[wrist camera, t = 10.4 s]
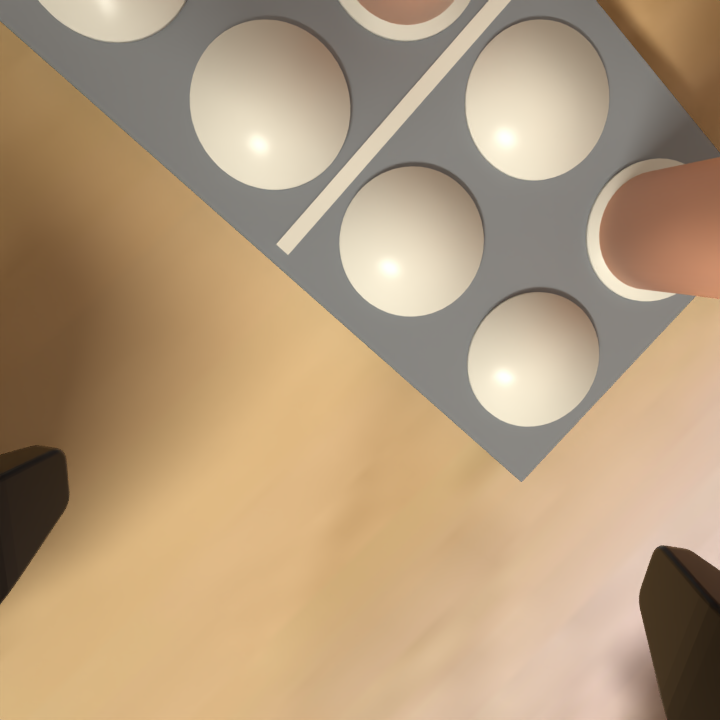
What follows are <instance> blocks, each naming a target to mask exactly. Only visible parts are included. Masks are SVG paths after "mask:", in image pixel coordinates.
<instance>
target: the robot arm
mask: <svg viewBox="0 0 720 720" xmlns="http://www.w3.org/2000/svg"><path fill="white" fill-rule="evenodd" d="M68 501H69V484H68V473H67V462H66V456H65V454H64V452H63V451H62V450H60V449H58V448H52V447H46V446H40V445H35V446H31V447H27V448H23V449H20V450H16V451H12V452H9V453H5V454H1V455H0V604H1V603H2V601H3V600H4V599H5V598H6V596H7V595H8V594H9V592H10V591H11V589H12V588H13V587H14V585H15V584H16V582H17V581H18V580H19V578H20V577H21V575H22V574H23V572H24V571H25V569H26V568H27V566H28V565H29V563H30V562H31V560H32V559H33V557H34V556H35V554H36V553H37V551H38V550H39V548H40V547H41V545H42V544H43V542H44V541H45V539H46V538H47V536H48V535H49V533H50V532H51V530H52V529H53V527H54V526H55V524H56V523H57V521H58V520H59V518H60V517H61V515H62V514H63V512H64V511H65V509H66V506H67V504H68ZM639 605H640V611H641V615H642V619H643V623H644V628H645V632H646V636H647V640H648V645H649V649H650V653H651V657H652V662H653V666H654V670H655V674H656V679H657V683H658V687H659V691H660V696H661V699H662V703H663V707H664V711H665V714H666V717H667V720H720V570H718V569H717V568H715V567H714V566H713V565H711V564H710V563H708V562H707V561H705V560H704V559H702V558H701V557H700V556H698V555H697V554H695V553H694V552H692V551H690V550H688V549H684V548H677V547H671V546H664V545H661V546H659V547H657V548H656V549H655V550H654V552H653V554H652V557H651V560H650V563H649V566H648V569H647V571H646V574H645V577H644V580H643V583H642V586H641V589H640V595H639Z"/></svg>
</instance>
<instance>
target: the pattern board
mask: <svg viewBox="0 0 720 720" xmlns="http://www.w3.org/2000/svg"><path fill="white" fill-rule="evenodd" d="M0 21H1V22H2V23H3V24H4V25H5V26H6V27H7V28H9V29H10V30H11V31H12V32H13V33H14V34H15V35H16V36H18V37H19V38H20V39H21V40H22V41H23V42H24V43H25V44H27V45H28V46H29V47H30V48H31V49H32V50H33V51H35V52H36V53H37V54H38V55H39V56H40V57H41V58H42V59H44V60H45V61H46V62H47V63H48V64H49V65H50V66H51V67H53V68H54V69H55V70H56V71H57V72H58V73H59V74H61V75H62V76H63V77H64V78H65V79H66V80H67V81H68V82H70V83H71V84H72V85H73V86H74V87H75V88H76V89H77V90H79V91H80V92H81V93H82V94H83V95H84V96H85V97H87V98H88V99H89V100H90V101H91V102H92V103H93V104H94V105H96V106H97V107H98V108H99V109H100V110H101V111H102V112H103V113H105V114H106V115H107V116H108V117H109V118H110V119H111V120H113V121H114V122H115V123H116V124H117V125H118V126H119V127H120V128H122V129H123V130H124V131H125V132H126V133H127V134H128V135H129V136H131V137H132V138H133V139H134V140H135V141H136V142H137V143H139V144H140V145H141V146H142V147H143V148H144V149H145V150H146V151H148V152H149V153H150V154H151V155H152V156H153V157H154V158H155V159H157V160H158V161H159V162H160V163H161V164H162V165H163V166H165V167H166V168H167V169H168V170H169V171H170V172H171V173H172V174H174V175H175V176H176V177H177V178H178V179H179V180H180V181H181V182H183V183H184V184H185V185H186V186H187V187H188V188H189V189H191V190H192V191H193V192H194V193H195V194H196V195H197V196H198V197H200V198H201V199H202V200H203V201H204V202H205V203H206V204H207V205H209V206H210V207H211V208H212V209H213V210H214V211H215V212H217V213H218V214H219V215H220V216H221V217H222V218H223V219H224V220H226V221H227V222H228V223H229V224H230V225H231V226H232V227H234V228H235V229H236V230H237V231H238V232H239V233H240V234H241V235H243V236H244V237H245V238H246V239H247V240H248V241H249V242H250V243H252V244H253V245H254V246H255V247H256V248H257V249H258V250H260V251H261V252H262V253H263V254H264V255H265V256H266V257H267V258H269V259H270V260H271V261H272V262H273V263H274V264H275V265H276V266H278V267H279V268H280V269H281V270H282V271H283V272H284V273H286V274H287V275H288V276H289V277H290V278H291V279H292V280H293V281H295V282H296V283H297V284H298V285H299V286H300V287H301V288H302V289H304V290H305V291H306V292H307V293H308V294H309V295H310V296H312V297H313V298H314V299H315V300H316V301H317V302H318V303H319V304H321V305H322V306H323V307H324V308H325V309H326V310H327V311H328V312H330V313H331V314H332V315H333V316H334V317H335V318H336V319H338V320H339V321H340V322H341V323H342V324H343V325H344V326H345V327H347V328H348V329H349V330H350V331H351V332H352V333H353V334H354V335H356V336H357V337H358V338H359V339H360V340H361V341H362V342H364V343H365V344H366V345H367V346H368V347H369V348H370V349H371V350H373V351H374V352H375V353H376V354H377V355H378V356H379V357H380V358H382V359H383V360H384V361H385V362H386V363H387V364H388V365H390V366H391V367H392V368H393V369H394V370H395V371H396V372H397V373H399V374H400V375H401V376H402V377H403V378H404V379H405V380H406V381H408V382H409V383H410V384H411V385H412V386H413V387H414V388H416V389H417V390H418V391H419V392H420V393H421V394H422V395H423V396H425V397H426V398H427V399H428V400H429V401H430V402H431V403H432V404H434V405H435V406H436V407H437V408H438V409H439V410H440V411H442V412H443V413H444V414H445V415H446V416H447V417H448V418H449V419H451V420H452V421H453V422H454V423H455V424H456V425H457V426H458V427H460V428H461V429H462V430H463V431H464V432H465V433H466V434H468V435H469V436H470V437H471V438H472V439H473V440H474V441H475V442H477V443H478V444H479V445H480V446H481V447H482V448H483V449H484V450H486V451H487V452H488V453H489V454H490V455H491V456H492V457H494V458H495V459H496V460H497V461H498V462H499V463H500V464H501V465H503V466H504V467H505V468H506V469H507V470H508V471H509V472H510V473H512V474H513V475H514V476H515V477H516V478H517V479H518V480H520V481H521V482H522V481H523V480H524V479H525V478H526V477H527V476H528V475H529V474H530V473H531V472H532V470H533V469H534V468H535V467H536V466H537V465H538V464H539V463H540V462H541V461H542V460H543V459H544V458H545V457H546V456H547V454H548V453H549V452H550V451H551V450H552V449H553V448H554V447H555V446H556V445H557V444H558V443H559V442H560V441H561V439H562V438H563V437H564V436H565V435H566V434H567V433H568V432H569V431H570V430H571V429H572V428H573V427H574V426H575V425H576V423H577V422H578V421H579V420H580V419H581V418H582V417H583V416H584V415H585V414H586V413H587V412H588V411H589V410H590V409H591V407H592V406H593V405H594V404H595V403H596V402H597V401H598V400H599V399H600V398H601V397H602V396H603V395H604V394H605V393H606V391H607V390H608V389H609V388H610V387H611V386H612V385H613V384H614V383H615V382H616V381H617V380H618V379H619V378H620V376H621V375H622V374H623V373H624V372H625V371H626V370H627V369H628V368H629V367H630V366H631V365H632V364H633V363H634V362H635V360H636V359H637V358H638V357H639V356H640V355H641V354H642V353H643V352H644V351H645V350H646V349H647V348H648V347H649V346H650V344H651V343H652V342H653V341H654V340H655V339H656V338H657V337H658V336H659V335H660V334H661V333H662V332H663V331H664V330H665V328H666V327H667V326H668V325H669V324H670V323H671V322H672V321H673V320H674V319H675V318H676V317H677V316H678V315H679V313H680V312H681V311H682V310H683V309H684V308H685V307H686V306H687V305H688V304H689V303H690V302H691V301H692V300H693V299H694V297H695V296H692V295H684V294H676V293H667V292H659V291H651V290H642V289H636V288H633V287H630V286H628V285H626V284H624V283H622V282H621V281H620V280H618V279H617V278H616V277H615V276H614V275H613V274H612V273H611V272H610V270H609V269H608V267H607V266H606V264H605V262H604V259H603V257H602V254H601V250H600V243H599V230H600V223H601V219H602V216H603V213H604V210H605V208H606V206H607V204H608V202H609V201H610V199H611V197H612V196H613V195H614V194H615V192H616V191H617V190H618V189H619V188H620V187H621V186H622V185H623V184H624V183H626V182H627V181H628V180H630V179H632V178H633V177H635V176H637V175H640V174H642V173H646V172H650V171H654V170H659V169H664V168H669V167H674V166H678V165H683V164H688V163H693V162H698V161H703V160H708V159H712V158H717V157H720V153H719V151H718V150H717V149H716V148H715V146H714V145H713V144H712V143H711V141H710V140H709V139H708V138H707V137H706V135H705V134H704V133H703V132H702V130H701V129H700V128H699V127H698V125H697V124H696V123H695V122H694V121H693V119H692V118H691V117H690V116H689V114H688V113H687V112H686V111H685V109H684V108H683V107H682V106H681V104H680V103H679V102H678V101H677V100H676V98H675V97H674V96H673V95H672V93H671V92H670V91H669V90H668V88H667V87H666V86H665V85H664V84H663V82H662V81H661V80H660V79H659V77H658V76H657V75H656V74H655V72H654V71H653V70H652V69H651V68H650V66H649V65H648V64H647V63H646V61H645V60H644V59H643V58H642V56H641V55H640V54H639V53H638V52H637V50H636V49H635V48H634V47H633V45H632V44H631V43H630V42H629V40H628V39H627V38H626V37H625V36H624V34H623V33H622V32H621V31H620V29H619V28H618V27H617V26H616V24H615V23H614V22H613V21H612V20H611V18H610V17H609V16H608V15H607V13H606V12H605V11H604V10H603V8H602V7H601V6H600V5H599V4H598V2H597V1H596V0H0Z"/></svg>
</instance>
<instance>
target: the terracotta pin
mask: <svg viewBox="0 0 720 720" xmlns="http://www.w3.org/2000/svg"><path fill="white" fill-rule="evenodd" d="M599 243H600V250H601V254H602V257H603V259H604V262H605V264H606V266H607V267H608V269H609V270H610V272H611V273H612V274H613V275H614V276H615V277H616V278H617V279H618V280H620V281H621V282H622V283H624V284H626V285H628V286H630V287H633V288H636V289H642V290H651V291H659V292H667V293H676V294H684V295H692V296H701V297H709V298H717V299H720V157H717V158H712V159H708V160H703V161H698V162H693V163H688V164H683V165H678V166H674V167H669V168H664V169H659V170H654V171H650V172H646V173H642V174H640V175H637V176H635V177H633V178H632V179H630V180H628V181H627V182H626V183H624V184H623V185H622V186H621V187H620V188H619V189H618V190H617V191H616V192H615V194H614V195H613V196H612V197H611V199H610V201H609V202H608V204H607V206H606V208H605V210H604V213H603V216H602V219H601V223H600V230H599Z"/></svg>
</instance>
